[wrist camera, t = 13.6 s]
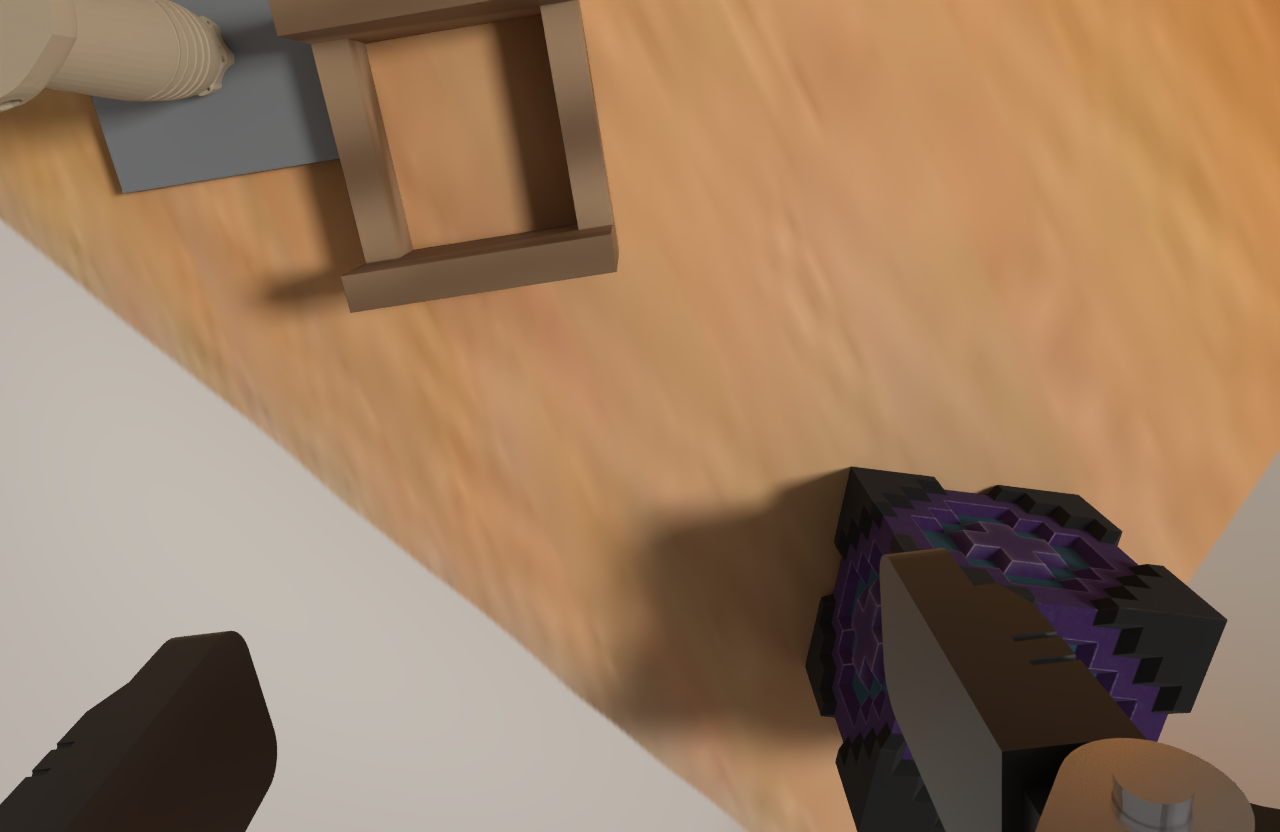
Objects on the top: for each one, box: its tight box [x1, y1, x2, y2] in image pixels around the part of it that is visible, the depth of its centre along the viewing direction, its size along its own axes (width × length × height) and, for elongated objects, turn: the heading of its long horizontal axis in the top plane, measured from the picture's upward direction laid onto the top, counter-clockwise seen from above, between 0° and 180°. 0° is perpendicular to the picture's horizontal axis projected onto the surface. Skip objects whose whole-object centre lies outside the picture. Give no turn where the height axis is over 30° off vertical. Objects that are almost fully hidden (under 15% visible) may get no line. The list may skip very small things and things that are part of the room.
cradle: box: [268, 0, 619, 313], centre depth 36 cm, size 12×11×6 cm
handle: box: [0, 0, 234, 113], centre depth 30 cm, size 5×6×15 cm
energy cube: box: [805, 467, 1227, 832], centre depth 41 cm, size 12×12×12 cm
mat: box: [91, 0, 340, 193], centre depth 38 cm, size 10×10×1 cm
